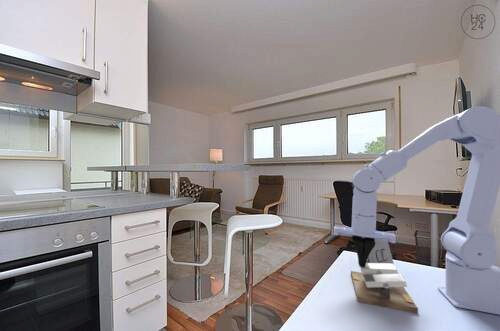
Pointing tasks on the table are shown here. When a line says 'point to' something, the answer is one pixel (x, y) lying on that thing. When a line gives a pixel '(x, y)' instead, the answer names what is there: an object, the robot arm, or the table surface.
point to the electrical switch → (380, 253)
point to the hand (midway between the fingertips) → (361, 265)
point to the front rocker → (384, 280)
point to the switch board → (377, 298)
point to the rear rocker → (379, 268)
